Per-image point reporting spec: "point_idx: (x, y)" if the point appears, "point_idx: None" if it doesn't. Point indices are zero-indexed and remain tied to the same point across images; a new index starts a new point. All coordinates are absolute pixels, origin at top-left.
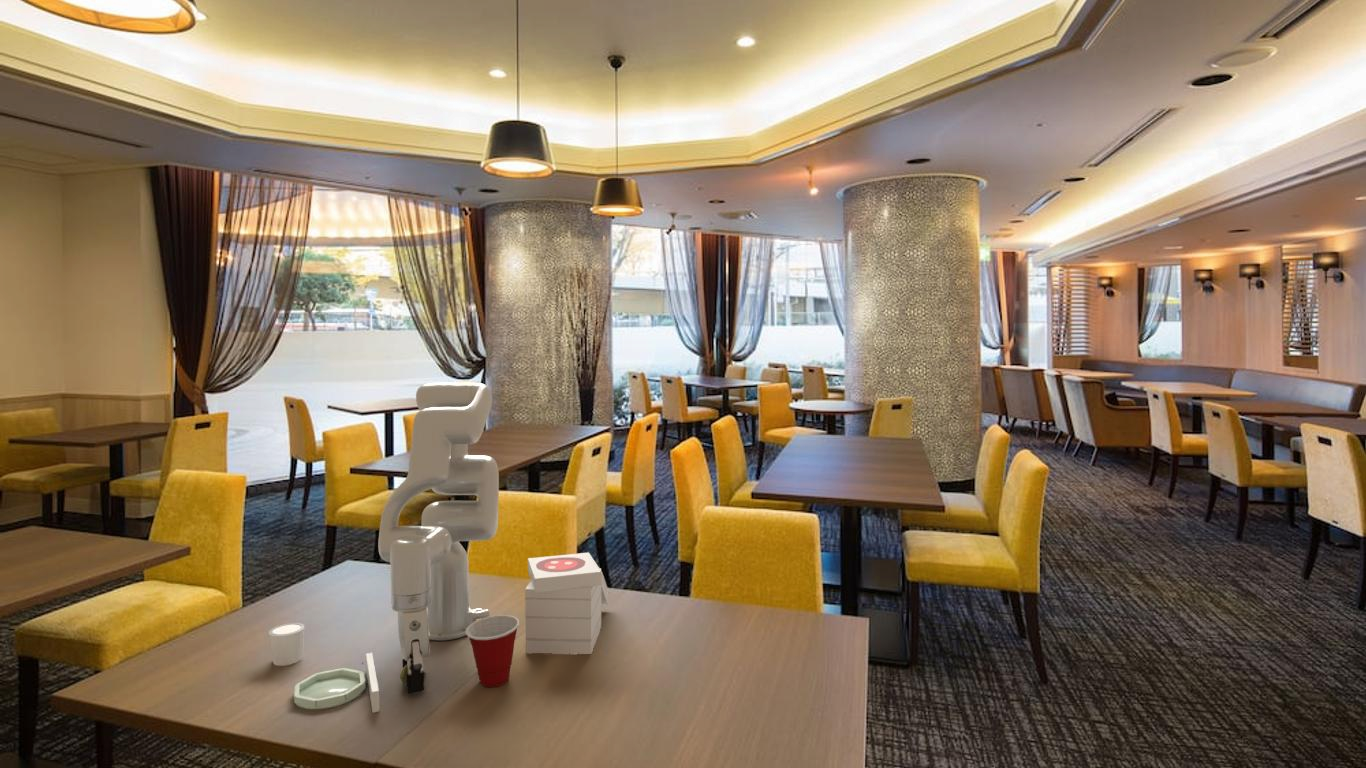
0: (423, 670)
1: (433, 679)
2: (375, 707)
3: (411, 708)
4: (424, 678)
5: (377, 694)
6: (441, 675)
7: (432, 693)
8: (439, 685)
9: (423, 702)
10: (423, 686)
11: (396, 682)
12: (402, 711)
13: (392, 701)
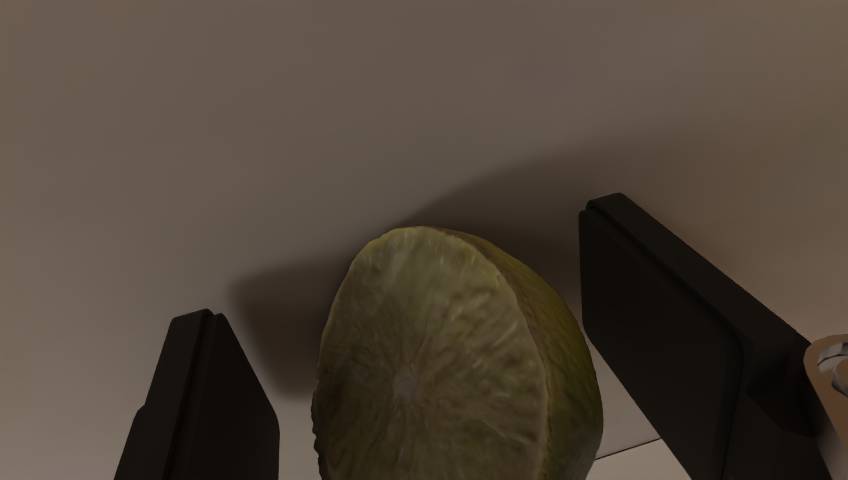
0: (757, 343)
1: (280, 114)
2: None
3: (805, 236)
4: (488, 242)
5: None
6: (159, 7)
7: (640, 85)
8: (474, 15)
9: (770, 154)
10: (644, 215)
11: (290, 444)
12: (805, 290)
13: (618, 386)
